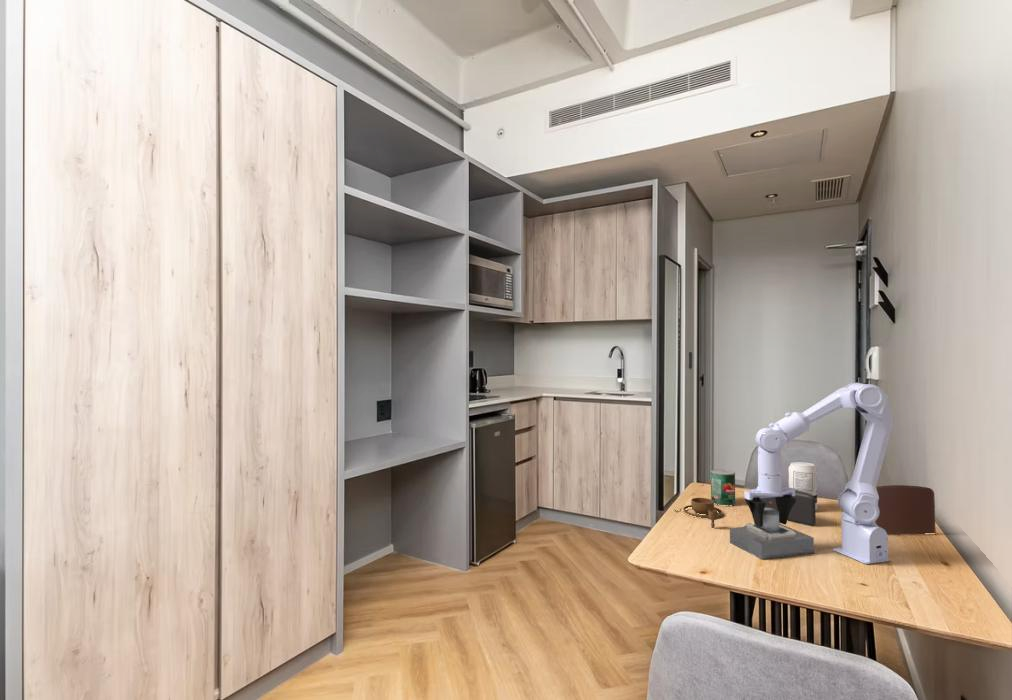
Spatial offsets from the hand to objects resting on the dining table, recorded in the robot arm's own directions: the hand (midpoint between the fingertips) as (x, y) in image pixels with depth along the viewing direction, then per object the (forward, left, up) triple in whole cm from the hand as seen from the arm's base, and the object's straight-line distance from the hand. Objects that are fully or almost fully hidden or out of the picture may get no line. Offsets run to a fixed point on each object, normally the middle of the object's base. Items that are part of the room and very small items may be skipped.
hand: (770, 524), depth 137 cm
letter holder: (+3, -44, -7) cm, 45 cm away
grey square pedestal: (+2, 0, -6) cm, 7 cm away
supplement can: (+26, -36, -6) cm, 45 cm away
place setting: (+28, +2, -7) cm, 29 cm away
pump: (0, 0, -2) cm, 2 cm away
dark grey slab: (+18, -22, -6) cm, 29 cm away
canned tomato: (+39, -15, -6) cm, 42 cm away
